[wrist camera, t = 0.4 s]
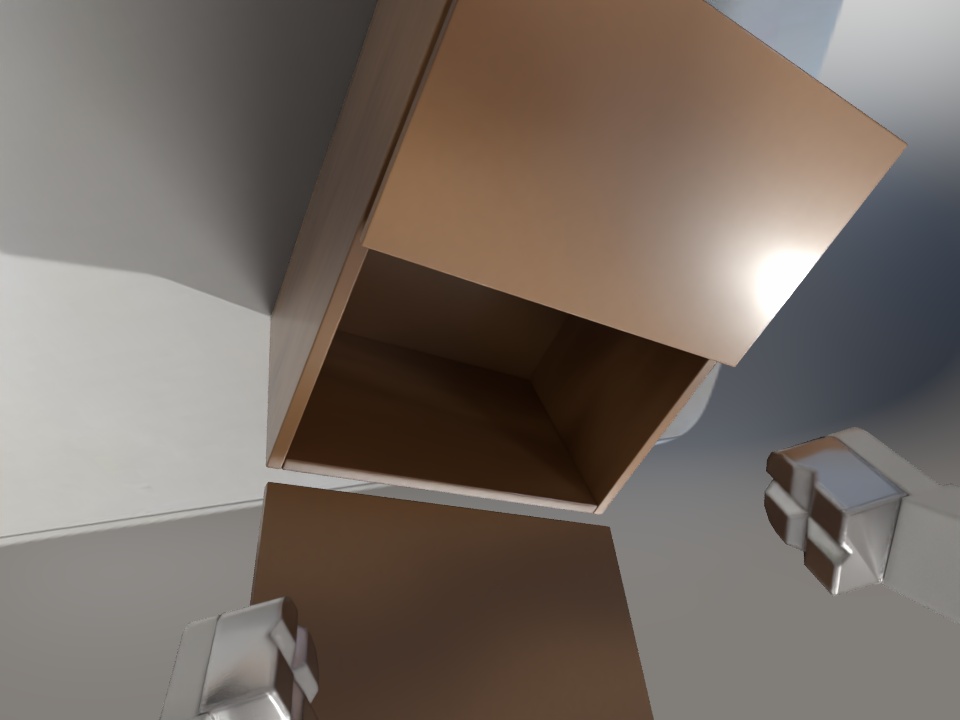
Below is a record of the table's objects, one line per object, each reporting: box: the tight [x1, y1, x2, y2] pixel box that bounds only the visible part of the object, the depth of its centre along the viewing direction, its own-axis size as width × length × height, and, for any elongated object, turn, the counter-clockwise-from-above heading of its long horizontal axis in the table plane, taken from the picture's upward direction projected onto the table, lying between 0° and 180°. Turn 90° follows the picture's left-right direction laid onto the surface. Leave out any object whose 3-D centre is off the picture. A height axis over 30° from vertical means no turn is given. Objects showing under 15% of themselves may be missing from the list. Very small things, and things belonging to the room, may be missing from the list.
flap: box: [250, 482, 654, 720], centre depth 20 cm, size 8×14×1 cm
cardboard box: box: [266, 0, 907, 514], centre depth 22 cm, size 17×14×10 cm
